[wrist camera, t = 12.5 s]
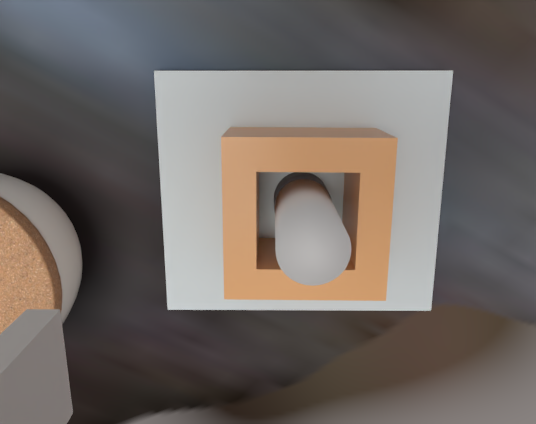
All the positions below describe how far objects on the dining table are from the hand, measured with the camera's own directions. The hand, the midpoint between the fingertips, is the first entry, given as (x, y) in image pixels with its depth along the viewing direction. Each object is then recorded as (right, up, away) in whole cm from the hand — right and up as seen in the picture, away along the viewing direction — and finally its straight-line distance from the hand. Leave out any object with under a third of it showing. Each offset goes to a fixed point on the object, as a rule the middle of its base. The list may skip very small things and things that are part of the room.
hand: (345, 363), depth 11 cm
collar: (0, +4, +17) cm, 17 cm away
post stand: (0, +5, +18) cm, 18 cm away
